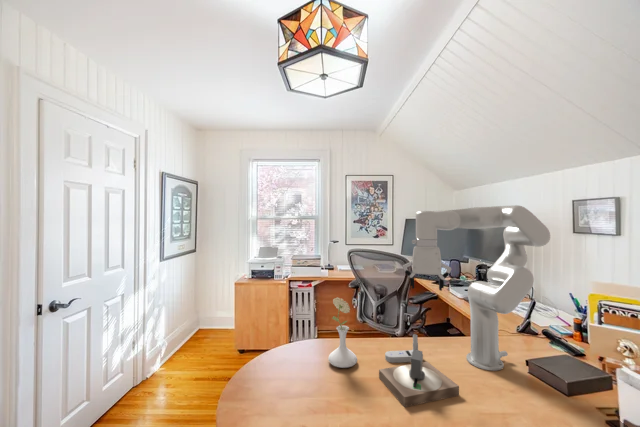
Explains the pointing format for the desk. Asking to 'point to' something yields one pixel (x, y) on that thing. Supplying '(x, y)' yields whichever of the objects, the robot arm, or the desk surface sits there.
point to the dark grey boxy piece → (416, 367)
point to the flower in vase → (342, 340)
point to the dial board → (418, 385)
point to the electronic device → (402, 353)
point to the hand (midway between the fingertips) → (426, 288)
